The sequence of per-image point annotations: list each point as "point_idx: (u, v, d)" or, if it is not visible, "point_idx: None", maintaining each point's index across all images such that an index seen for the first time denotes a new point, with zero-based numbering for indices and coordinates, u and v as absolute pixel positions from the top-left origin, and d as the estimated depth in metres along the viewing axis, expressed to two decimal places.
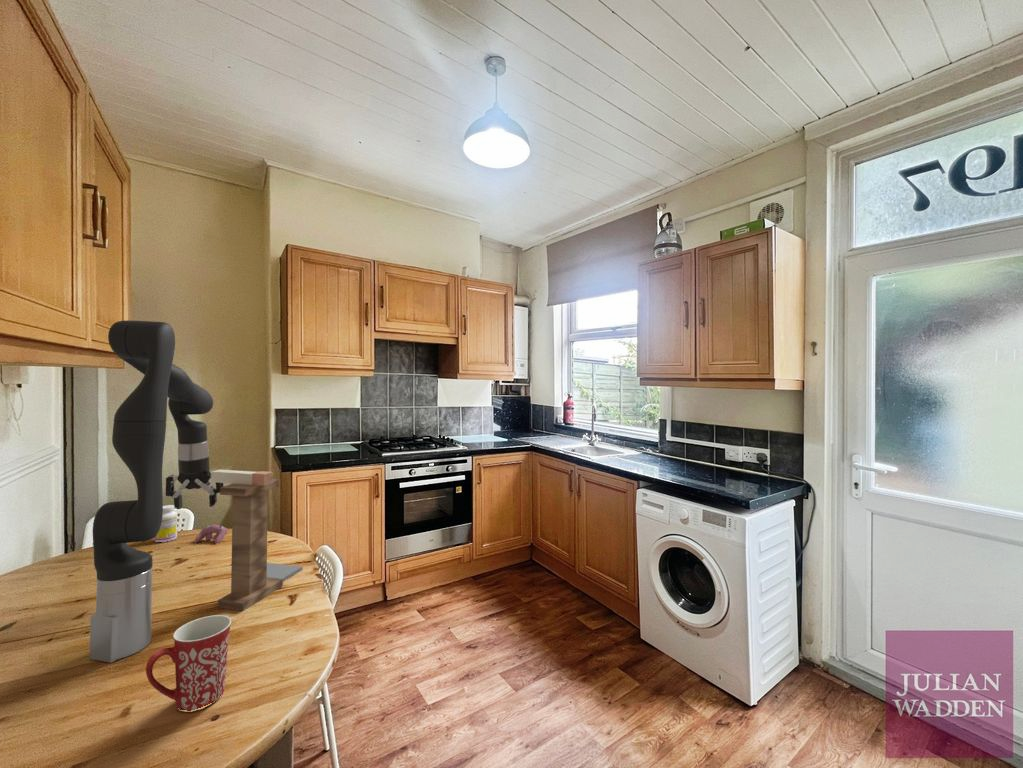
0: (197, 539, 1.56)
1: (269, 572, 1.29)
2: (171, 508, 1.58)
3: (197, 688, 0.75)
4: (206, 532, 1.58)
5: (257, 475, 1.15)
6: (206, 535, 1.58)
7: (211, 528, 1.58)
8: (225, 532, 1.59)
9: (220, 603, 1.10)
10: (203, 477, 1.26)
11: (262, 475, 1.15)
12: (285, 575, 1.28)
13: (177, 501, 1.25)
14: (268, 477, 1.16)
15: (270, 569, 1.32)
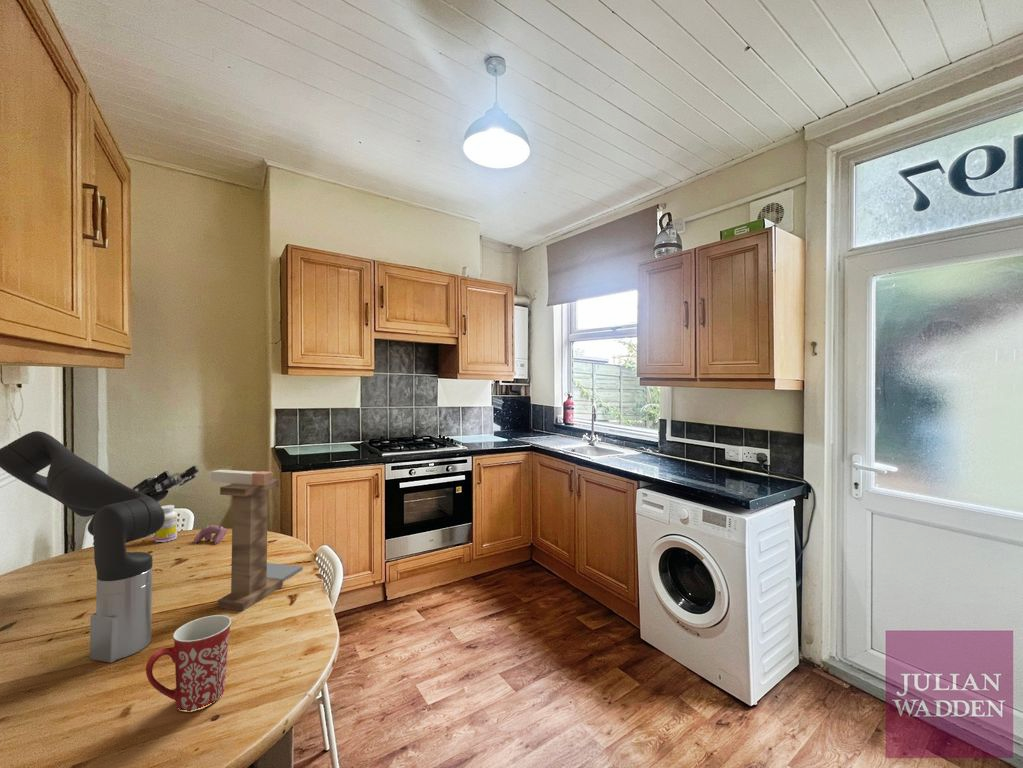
0: (196, 539, 1.55)
1: (269, 572, 1.29)
2: (171, 508, 1.58)
3: (197, 688, 0.75)
4: (205, 532, 1.58)
5: (257, 475, 1.15)
6: (205, 535, 1.58)
7: (210, 528, 1.57)
8: (224, 532, 1.58)
9: (220, 603, 1.10)
10: None
11: (262, 475, 1.15)
12: (285, 575, 1.28)
13: None
14: (268, 477, 1.16)
15: (270, 569, 1.32)
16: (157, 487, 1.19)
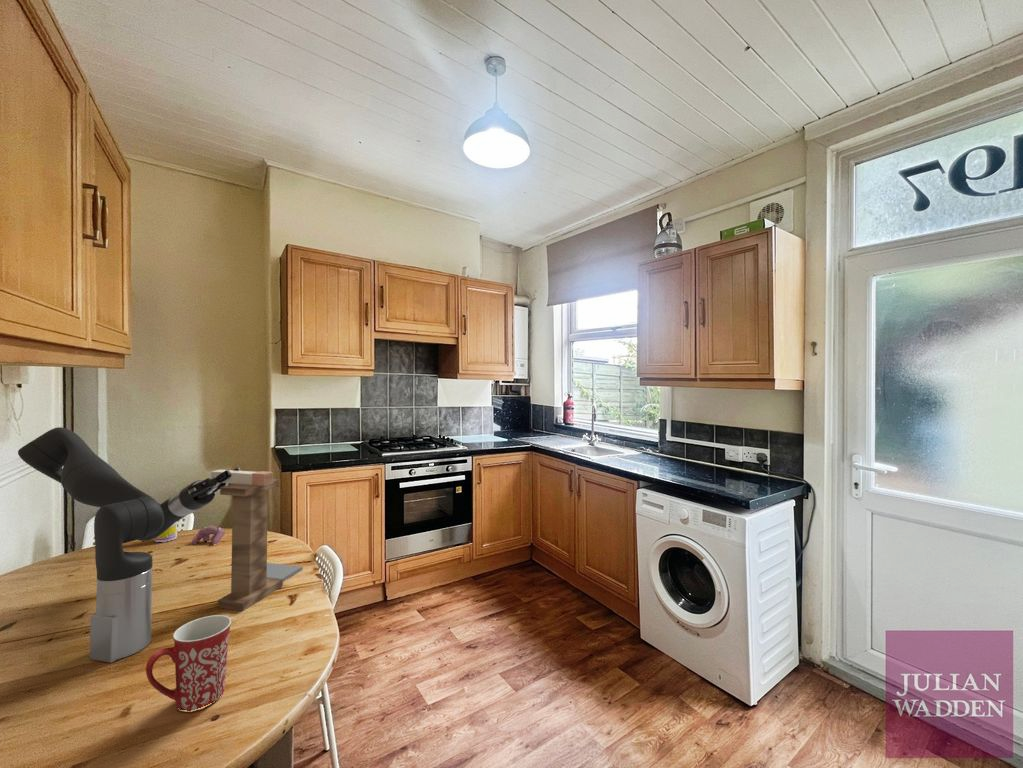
0: (194, 540, 1.54)
1: (269, 572, 1.29)
2: None
3: (197, 688, 0.75)
4: (203, 533, 1.57)
5: (257, 475, 1.15)
6: (203, 536, 1.57)
7: (208, 529, 1.56)
8: (222, 533, 1.57)
9: (220, 603, 1.10)
10: None
11: (262, 475, 1.15)
12: (285, 575, 1.28)
13: (221, 473, 1.17)
14: (268, 477, 1.16)
15: (270, 569, 1.32)
16: (214, 487, 1.17)
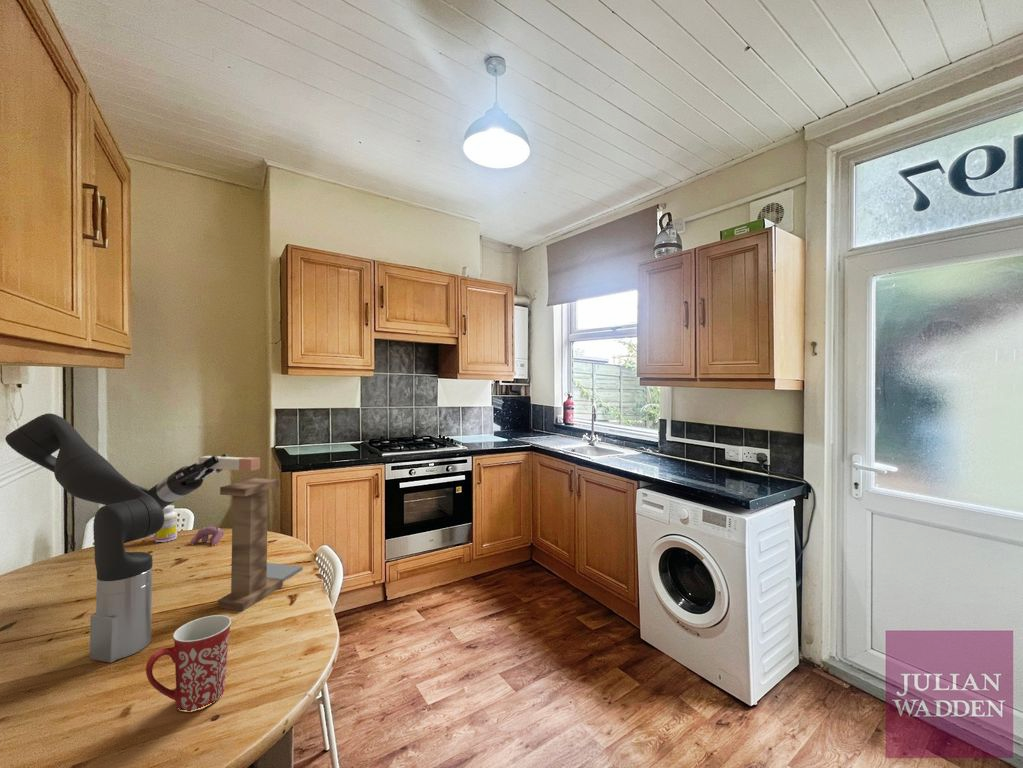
0: (193, 541, 1.54)
1: (269, 572, 1.29)
2: (171, 508, 1.58)
3: (197, 688, 0.75)
4: (202, 534, 1.56)
5: (244, 460, 1.16)
6: (202, 537, 1.57)
7: (207, 530, 1.56)
8: (221, 534, 1.57)
9: (220, 603, 1.10)
10: None
11: (249, 460, 1.16)
12: (285, 575, 1.28)
13: None
14: (255, 463, 1.17)
15: (270, 569, 1.32)
16: (201, 473, 1.18)
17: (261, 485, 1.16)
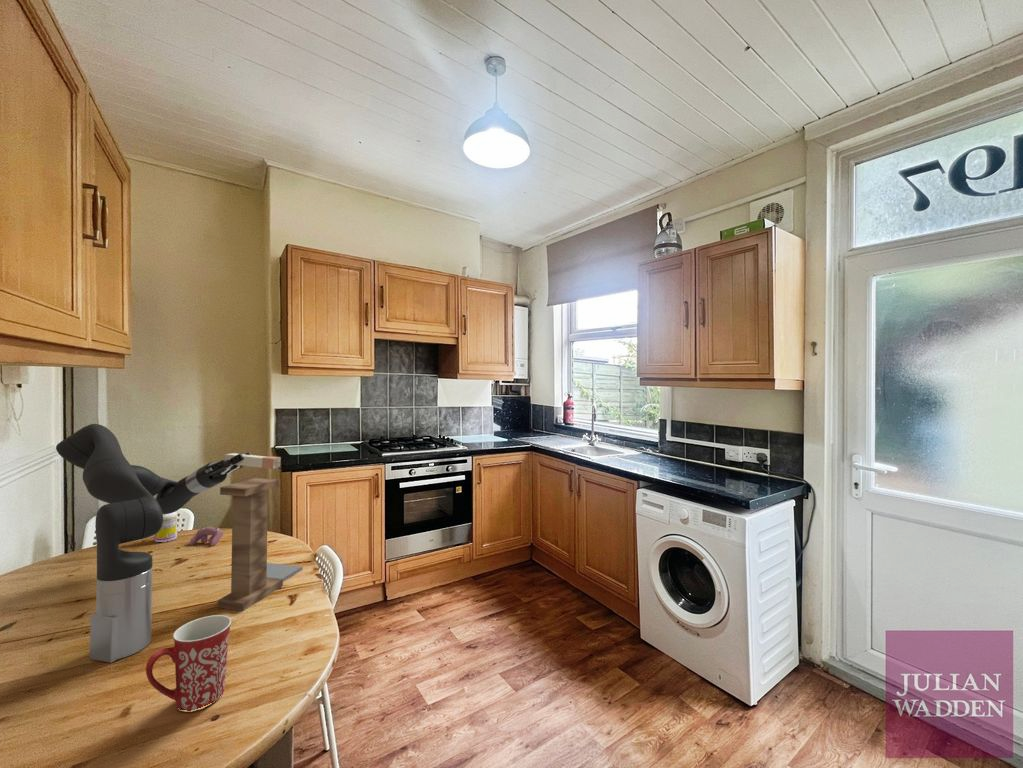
0: (192, 541, 1.53)
1: (269, 572, 1.29)
2: None
3: (197, 688, 0.75)
4: (201, 534, 1.56)
5: (267, 459, 1.31)
6: (201, 537, 1.56)
7: (206, 530, 1.55)
8: (221, 534, 1.56)
9: (220, 603, 1.10)
10: None
11: (271, 459, 1.30)
12: (285, 575, 1.28)
13: None
14: (276, 461, 1.32)
15: (270, 569, 1.32)
16: (228, 468, 1.33)
17: (261, 485, 1.16)
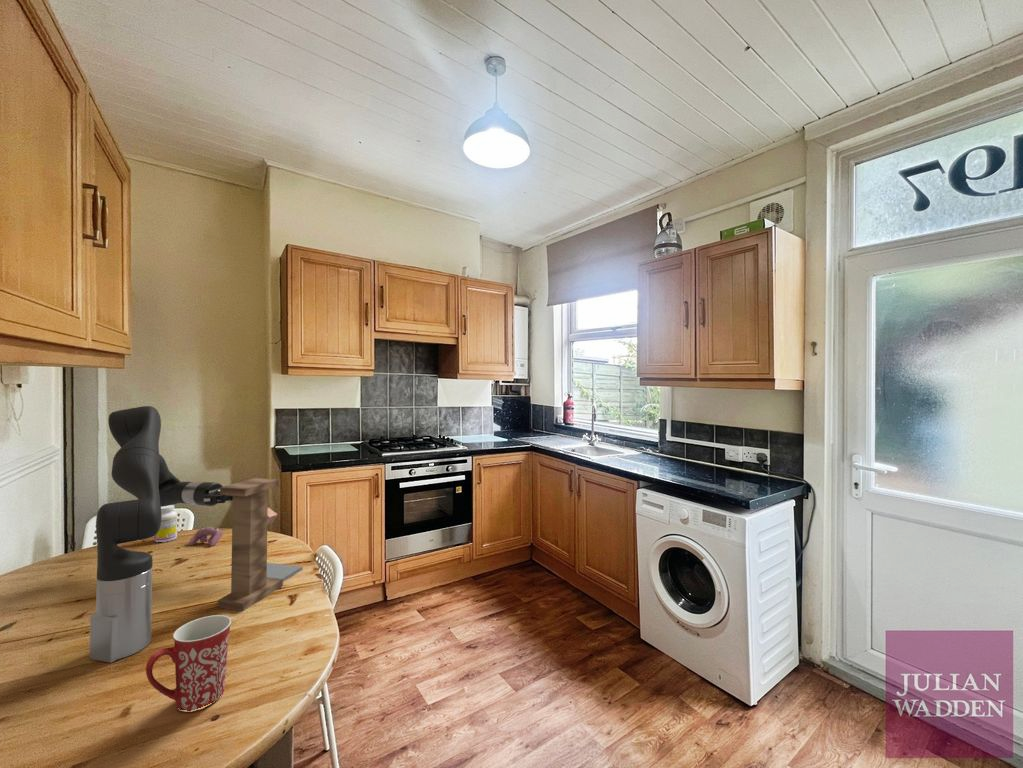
0: (191, 542, 1.53)
1: (269, 572, 1.29)
2: (171, 508, 1.58)
3: (197, 688, 0.75)
4: (201, 534, 1.56)
5: None
6: (201, 537, 1.56)
7: (206, 530, 1.55)
8: (220, 534, 1.56)
9: (220, 603, 1.10)
10: None
11: None
12: (285, 575, 1.28)
13: None
14: (271, 519, 1.31)
15: (270, 569, 1.32)
16: (225, 501, 1.32)
17: (261, 485, 1.16)
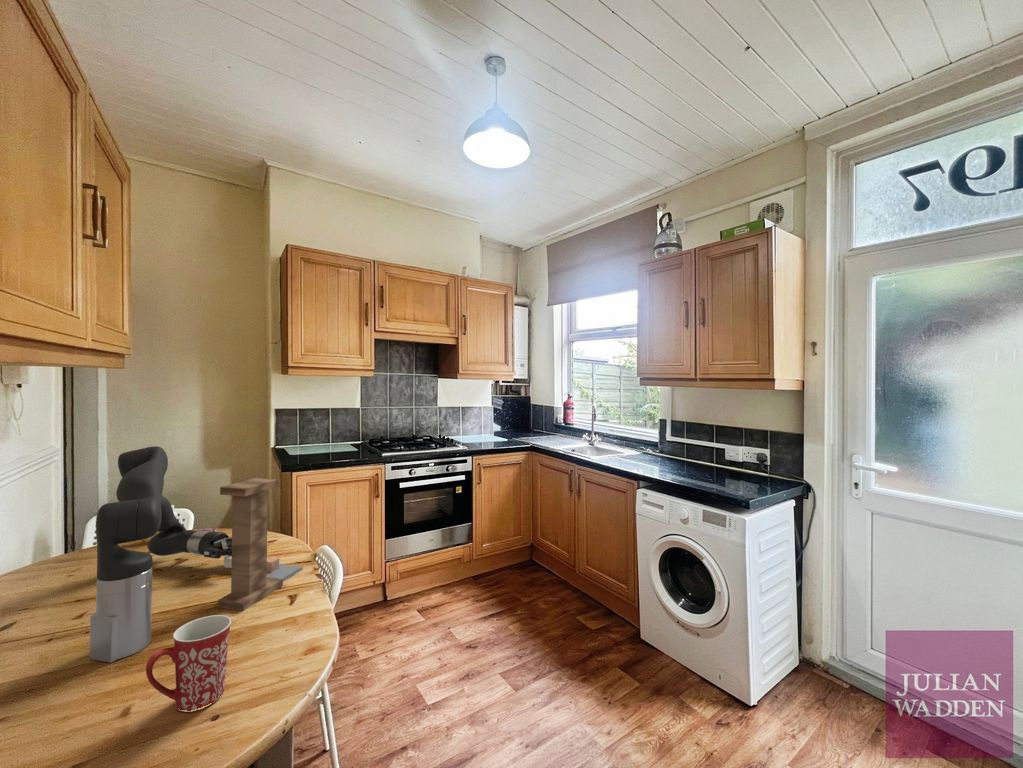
0: None
1: (269, 572, 1.29)
2: None
3: (197, 688, 0.75)
4: None
5: None
6: None
7: None
8: None
9: (220, 603, 1.10)
10: None
11: (269, 563, 1.29)
12: (285, 575, 1.28)
13: (231, 548, 1.29)
14: (275, 564, 1.31)
15: None
16: None
17: (261, 485, 1.16)
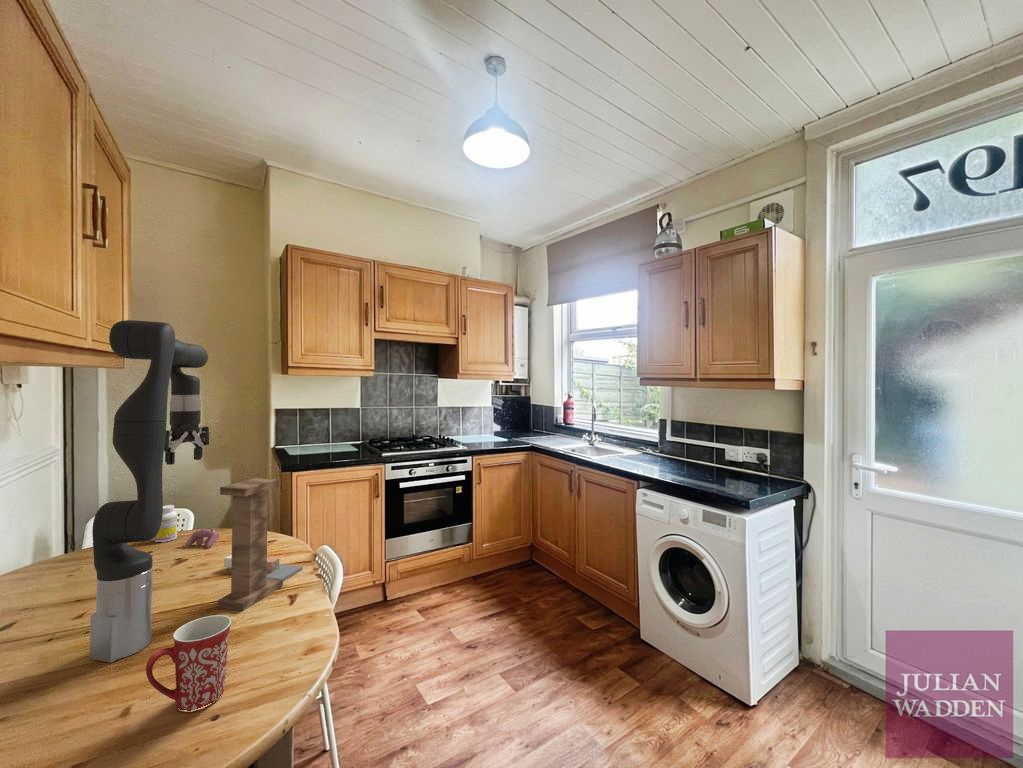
0: (187, 544, 1.51)
1: (269, 572, 1.29)
2: (171, 508, 1.58)
3: (197, 688, 0.75)
4: (197, 536, 1.54)
5: None
6: (197, 539, 1.54)
7: (202, 532, 1.53)
8: (217, 536, 1.54)
9: (220, 603, 1.10)
10: (196, 430, 1.29)
11: (269, 563, 1.29)
12: (285, 575, 1.28)
13: (173, 455, 1.22)
14: (275, 564, 1.31)
15: None
16: None
17: (261, 485, 1.16)
